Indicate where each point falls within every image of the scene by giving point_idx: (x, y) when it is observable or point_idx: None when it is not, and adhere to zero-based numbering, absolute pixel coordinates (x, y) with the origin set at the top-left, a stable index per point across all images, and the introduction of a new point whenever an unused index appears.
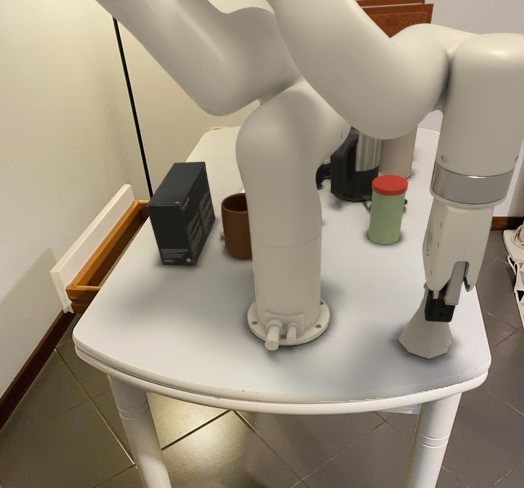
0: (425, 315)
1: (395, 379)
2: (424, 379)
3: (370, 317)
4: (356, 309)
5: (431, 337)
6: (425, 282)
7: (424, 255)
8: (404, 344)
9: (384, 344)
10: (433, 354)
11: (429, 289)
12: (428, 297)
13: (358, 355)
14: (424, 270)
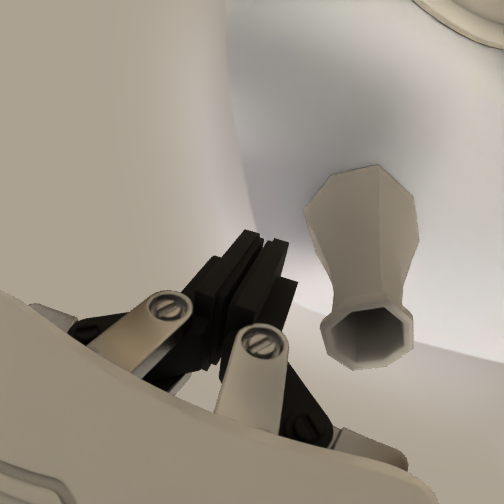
0: (246, 236)
1: (254, 123)
2: (250, 182)
3: (468, 135)
4: (497, 115)
5: (314, 234)
6: (399, 310)
7: (187, 482)
8: (352, 172)
9: (371, 130)
10: (307, 223)
11: (243, 308)
12: (249, 282)
13: (338, 59)
14: (97, 365)
